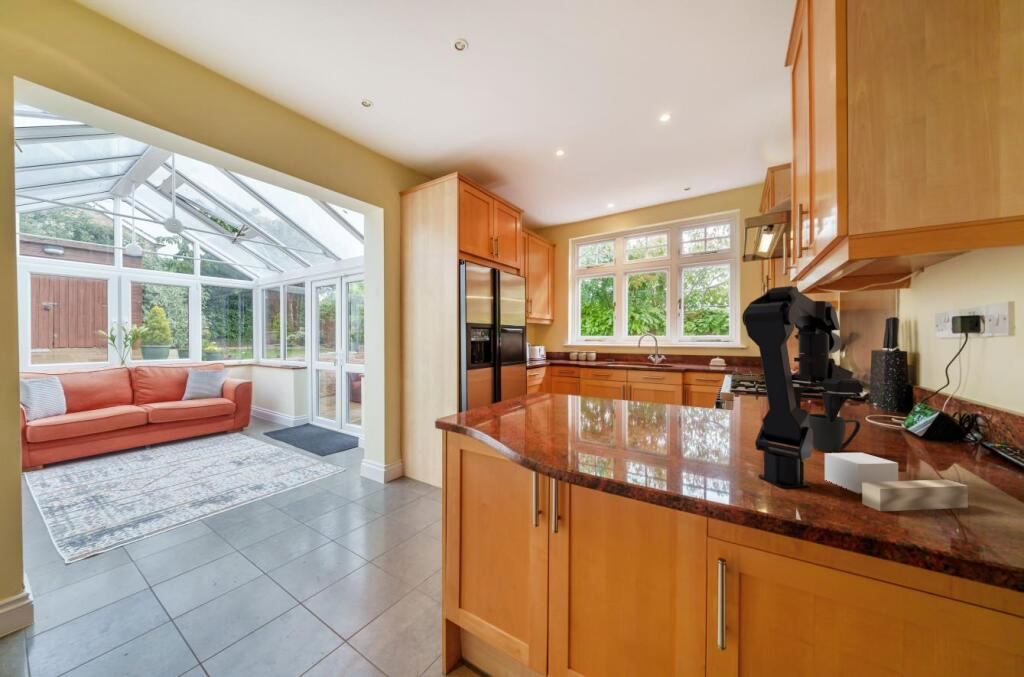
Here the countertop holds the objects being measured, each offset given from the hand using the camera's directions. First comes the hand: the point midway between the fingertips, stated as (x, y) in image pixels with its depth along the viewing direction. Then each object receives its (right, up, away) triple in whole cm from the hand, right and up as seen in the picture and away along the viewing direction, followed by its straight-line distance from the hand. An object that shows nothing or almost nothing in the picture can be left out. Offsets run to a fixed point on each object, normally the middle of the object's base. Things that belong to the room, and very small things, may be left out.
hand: (813, 417), depth 88 cm
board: (+1, -12, -21) cm, 24 cm away
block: (0, -12, -11) cm, 17 cm away
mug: (+17, -12, +13) cm, 25 cm away
